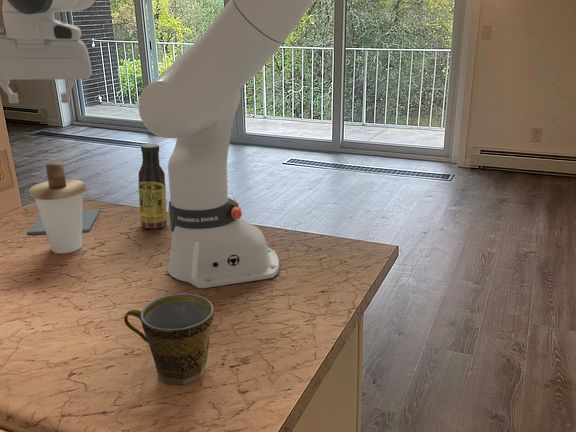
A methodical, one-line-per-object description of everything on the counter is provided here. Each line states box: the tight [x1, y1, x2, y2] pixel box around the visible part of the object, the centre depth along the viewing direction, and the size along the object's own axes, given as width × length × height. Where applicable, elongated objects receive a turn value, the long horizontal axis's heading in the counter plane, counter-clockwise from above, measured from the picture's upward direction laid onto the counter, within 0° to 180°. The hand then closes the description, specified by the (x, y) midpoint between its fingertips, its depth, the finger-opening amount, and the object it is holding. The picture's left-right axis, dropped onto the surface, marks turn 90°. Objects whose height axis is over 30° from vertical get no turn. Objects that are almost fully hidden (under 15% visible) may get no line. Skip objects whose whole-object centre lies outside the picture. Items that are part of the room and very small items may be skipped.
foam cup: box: [34, 193, 84, 254], centre depth 120 cm, size 10×9×13 cm
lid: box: [29, 161, 87, 200], centre depth 117 cm, size 11×11×6 cm
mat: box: [26, 208, 101, 235], centre depth 136 cm, size 14×14×1 cm
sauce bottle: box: [137, 143, 168, 230], centre depth 131 cm, size 7×6×20 cm
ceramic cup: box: [123, 293, 214, 386], centre depth 79 cm, size 13×10×10 cm
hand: (40, 102), depth 109 cm, fingers open, 8 cm apart
